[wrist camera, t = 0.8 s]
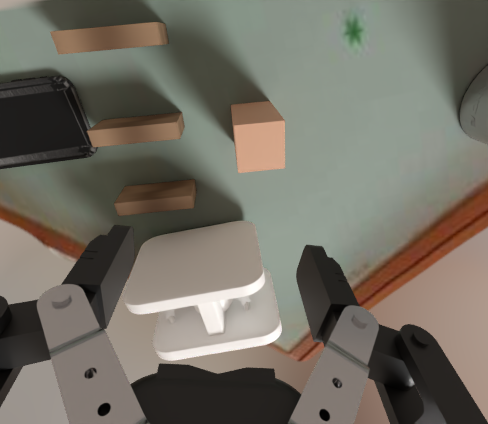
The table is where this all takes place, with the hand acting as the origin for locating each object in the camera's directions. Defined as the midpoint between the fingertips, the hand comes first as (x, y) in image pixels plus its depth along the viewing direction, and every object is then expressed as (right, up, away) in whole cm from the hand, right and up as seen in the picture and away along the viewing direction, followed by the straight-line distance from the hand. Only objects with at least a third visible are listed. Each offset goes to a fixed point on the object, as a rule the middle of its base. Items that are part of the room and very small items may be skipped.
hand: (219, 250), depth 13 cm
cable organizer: (-3, -4, +26) cm, 26 cm away
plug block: (+2, +11, +17) cm, 20 cm away
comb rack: (-9, +11, +16) cm, 21 cm away
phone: (-22, +11, +16) cm, 29 cm away
